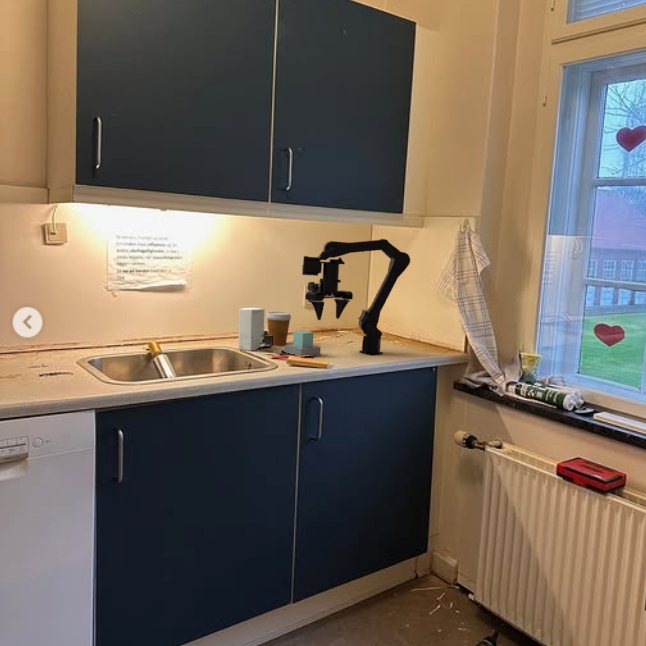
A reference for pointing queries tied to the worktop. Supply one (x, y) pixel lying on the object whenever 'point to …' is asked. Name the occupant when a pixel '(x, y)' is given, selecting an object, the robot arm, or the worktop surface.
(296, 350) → the block
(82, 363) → the worktop surface
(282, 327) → the disposable coffee cup
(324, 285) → the robot arm
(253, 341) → the skincare box
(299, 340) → the teal cube
